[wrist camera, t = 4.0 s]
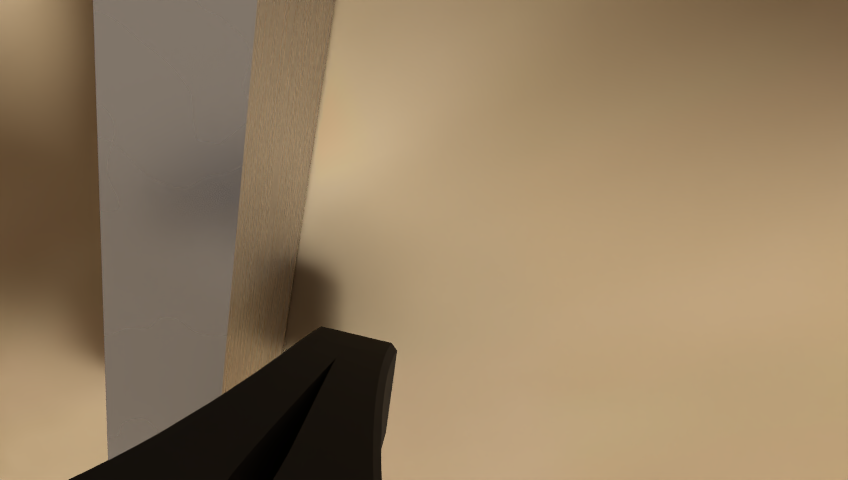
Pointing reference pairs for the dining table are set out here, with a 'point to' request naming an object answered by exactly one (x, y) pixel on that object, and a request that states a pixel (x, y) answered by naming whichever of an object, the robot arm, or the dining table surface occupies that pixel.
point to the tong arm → (199, 194)
